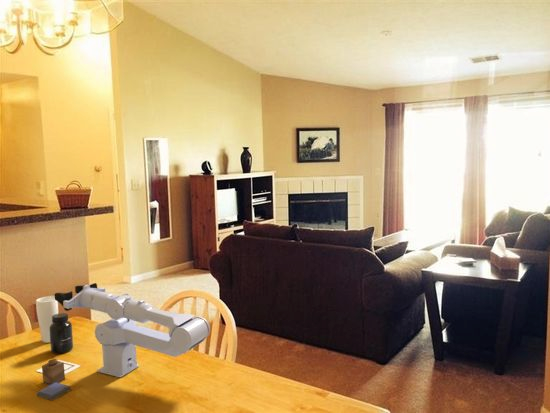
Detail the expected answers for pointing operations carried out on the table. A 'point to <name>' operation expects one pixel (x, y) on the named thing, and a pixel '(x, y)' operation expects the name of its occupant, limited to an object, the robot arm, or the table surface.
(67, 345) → the supplement bottle
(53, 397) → the ink pad
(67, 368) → the form sheet
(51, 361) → the stamp
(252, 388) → the table surface
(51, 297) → the drinking glass
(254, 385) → the table surface
